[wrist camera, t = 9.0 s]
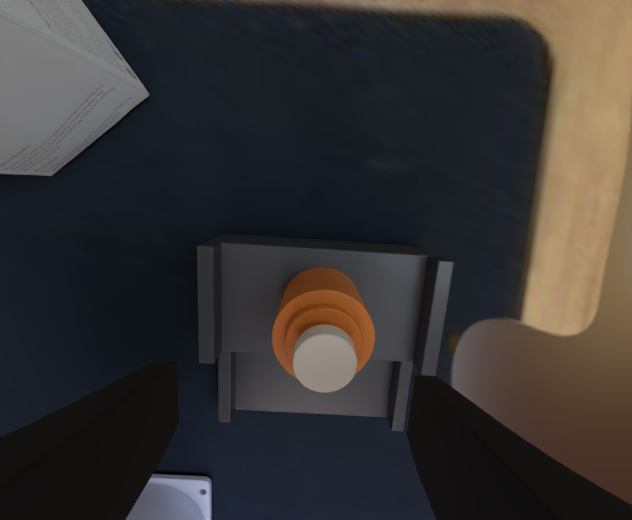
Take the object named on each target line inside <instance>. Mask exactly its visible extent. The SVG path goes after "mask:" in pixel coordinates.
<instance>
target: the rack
mask: <svg viewBox="0 0 632 520" xmlns="http://www.w3.org/2000/svg"><path fill="white" fill-rule="evenodd" d="M453 266H454V261H452V260H449V259H447V258H445V257H443V256H441V255H438V254H436V253H434V252H432V251H429V250H427V249H425V248H423V247H421V246H419V245H405V244H390V243H374V242H358V241H342V240H326V239H311V238H295V237H279V236H263V235H247V234H232V233H227V234H224V235H222V236H220V237H217V238H215V239H212V240H210V241H207V242H205V243H202V244H200V245H197V283H198V336H199V363H208V364H214V363H215V361H216V360H217V358H218V421H219V422H231V419H232V417H233V414H234V411H235V409H236V410H255V411H275V412H294V413H314V414H333V415H353V416H372V417H387V418H388V421H389V424H390V427H391V430H392V431H403V428H404V421H405V415H406V408H407V401H408V394H409V387H410V380H411V374H412V367H413V362H414V364H415V366H416V368H417V369H418V371H419V373H420V374H421V375H429V376H435V375H436V369H437V363H438V357H439V351H440V345H441V339H442V333H443V327H444V321H445V315H446V309H447V303H448V297H449V291H450V285H451V279H452V273H453ZM316 267H326V268H332V269H335V270H337V271H340V272H341V273H343V274H345V275H346V276H347V277H348V278H349V279H350V280H351V281H352V282H353V283H354V285H355V286H356V288H357V290H358V292H359V294H360V296H361V298H362V300H363V303H364V305H365V307H366V309H367V311H368V313H369V315H370V317H371V320H372V322H373V326H374V332H375V342H374V348H373V351H372V354H371V356H370V358H369V360H368V361H367V363H366V364H365V365H364V367H363V368H362V369H361V370H360V371H359V372H357V373H356V374H355V375H354V377H353V378H352V380H351V381H350V382H349V383H348V384H347V385H346V386H344V387H343V388H341V389H339V390H337V391H333V392H327V393H323V392H316V391H313V390H310V389H308V388H307V387H305V386H304V385H303V384H302V383H301V382H300V381H299V380H298V379H297V378H295V377H294V376H293V375H291V374H290V373H289V372H287V371H286V370H285V369H284V368H283V366H282V365H281V364H280V362H279V361H278V359H277V357H276V355H275V353H274V349H273V345H272V329H273V325H274V322H275V319H276V316H277V312H278V309H279V306H280V303H281V300H282V297H283V294H284V291H285V289H286V287H287V285H288V284H289V282H290V281H291V280H292V279H293V278H294V277H295V276H297V275H298V274H299V273H301V272H303V271H305V270H308V269H311V268H316Z"/></svg>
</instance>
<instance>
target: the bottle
mask: <svg viewBox="0 0 632 520" xmlns="http://www.w3.org/2000/svg"><path fill="white" fill-rule="evenodd" d="M374 342H375V332H374V326H373V322H372V320H371V317H370V315H369V313H368V311H367V309H366V307H365V305H364V303H363V300H362V298H361V296H360V294H359V292H358V290H357V288H356V286H355V285H354V283H353V282H352V281H351V280H350V279H349V278H348V277H347V276H346V275H345V274H343V273H341V272H340V271H337V270H335V269H332V268H326V267H316V268H311V269H308V270H305V271H303V272H301V273H299V274H298V275H297V276H295V277H294V278H293V279H292V280H291V281H290V282H289V284H288V285H287V287H286V289H285V291H284V294H283V297H282V300H281V303H280V306H279V309H278V312H277V316H276V319H275V322H274V325H273V329H272V345H273V349H274V353H275V355H276V357H277V359H278V361H279V362H280V364H281V365H282V366H283V368H284V369H285V370H286V371H287V372H289V373H290V374H291V375H293V376H294V377H295V378H297V379H298V380H299V381H300V382H301V383H302V384H303V385H304V386H305V387H307V388H308V389H310V390H313V391H316V392H323V393H327V392H333V391H337V390H339V389H341V388H343V387H344V386H346V385H347V384H348V383H349V382H350V381H351V380H352V378H353V377H354V375H355V374H356V373H357V372H359V371H360V370H361V369H362V368H363V367H364V365H365V364H366V363H367V361H368V360H369V358H370V356H371V354H372V351H373V348H374Z"/></svg>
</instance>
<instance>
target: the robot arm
mask: <svg viewBox="0 0 632 520" xmlns="http://www.w3.org/2000/svg"><path fill="white" fill-rule="evenodd" d="M178 422H179V415H178V383H177V362H171V361H154V362H152V363H150V364H148V365H145V366H143V367H141V368H139V369H137V370H135V371H133V372H132V373H130V374H128V375H126V376H124V377H122V378H120V379H118V380H116V381H114V382H112V383H111V384H109V385H107V386H105V387H103V388H101V389H99V390H97V391H95V392H93V393H91V394H89V395H88V396H86V397H84V398H82V399H80V400H78V401H76V402H74V403H72V404H70V405H68V406H66V407H64V408H61V409H59V410H57V411H55V412H53V413H51V414H49V415H47V416H45V417H43V418H41V419H39V420H37V421H35V422H33V423H31V424H29V425H26V426H24V427H22V428H20V429H18V430H16V431H13V432H11V433H9V434H7V435H4V436H2V437H0V520H212V490H211V480H210V478H208V477H206V476H189V475H167V474H153V473H154V471H155V469H156V468H157V466H158V464H159V463H160V461H161V459H162V457H163V455H164V453H165V451H166V449H167V447H168V445H169V442H170V440H171V438H172V436H173V433H174V431H175V429H176V427H177V424H178ZM407 436H408V440H409V444H410V447H411V451H412V455H413V458H414V462H415V465H416V469H417V472H418V474H419V477H420V480H421V482H422V485H423V487H424V490H425V492H426V495H427V498H428V500H429V503H430V505H431V508H432V510H433V513H434V515H435V518H436V520H632V505H631V504H629V503H627V502H625V501H624V500H622V499H620V498H618V497H616V496H615V495H613V494H611V493H609V492H607V491H606V490H604V489H603V488H601V487H599V486H598V485H596V484H594V483H593V482H591V481H589V480H587V479H586V478H584V477H582V476H581V475H579V474H577V473H576V472H574V471H572V470H571V469H569V468H567V467H566V466H564V465H563V464H561V463H559V462H558V461H556V460H555V459H553V458H551V457H550V456H548V455H547V454H545V453H544V452H542V451H541V450H539V449H538V448H536V447H535V446H533V445H532V444H530V443H529V442H527V441H526V440H524V439H523V438H521V437H520V436H518V435H517V434H516V433H514V432H513V431H511V430H510V429H508V428H507V427H506V426H504V425H502V424H501V423H500V422H499V421H497V420H496V419H494V418H493V417H492V416H490V415H489V414H487V413H486V412H485V411H483V410H482V409H481V408H479V407H478V406H477V405H475V404H474V403H472V402H471V401H470V400H468V399H467V398H466V397H464V396H463V395H462V394H460V393H459V392H458V391H456V390H455V389H453V388H452V387H451V386H449V385H448V384H446V383H445V382H443V381H442V380H440V379H439V378H437V377H436V376H418V375H416V376H415V383H414V390H413V396H412V403H411V409H410V416H409V422H408V429H407ZM204 489H205V490H204Z"/></svg>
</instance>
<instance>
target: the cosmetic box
mask: <svg viewBox="0 0 632 520" xmlns="http://www.w3.org/2000/svg"><path fill="white" fill-rule="evenodd" d="M148 96H149V93H148V91H147V90H146V88H145V87H144V85H143V84H142V83H141V81H140V80H139V79H138V77H137V76H136V74H135V73H134V72H133V70H132V69H131V67H130V66H129V65H128V63H127V62H126V61H125V59H124V58H123V56H122V55H121V54H120V52H119V51H118V50H117V48H116V47H115V45H114V44H113V43H112V41H111V40H110V39H109V37H108V36H107V35H106V33H105V32H104V30H103V29H102V28H101V26H100V25H99V24H98V22H97V21H96V19H95V18H94V17H93V15H92V14H91V13H90V11H89V10H88V8H87V7H86V6H85V4H84V3H83V2H82V0H0V174H19V175H43V176H52V175H53V174H55V173H56V172H57V171H58V170H60V169H61V168H62V167H63V166H65V165H66V164H67V163H68V162H69V161H71V160H72V159H73V158H74V157H76V156H77V155H78V154H79V153H80V152H82V151H83V150H84V149H85V148H87V147H88V146H89V145H90V144H91V143H93V142H94V141H95V140H96V139H97V138H99V137H100V136H101V135H102V134H104V133H105V132H106V131H107V130H108V129H110V128H111V127H112V126H113V125H115V124H116V123H117V122H118V121H119V120H120V119H121V118H123V117H124V116H125V115H126V114H127V113H128V112H129V111H130V110H131V109H133V108H134V107H135V106H137V105H138V104H139V103H140V102H142V101H143V100H144V99H146V98H147V97H148Z"/></svg>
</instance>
